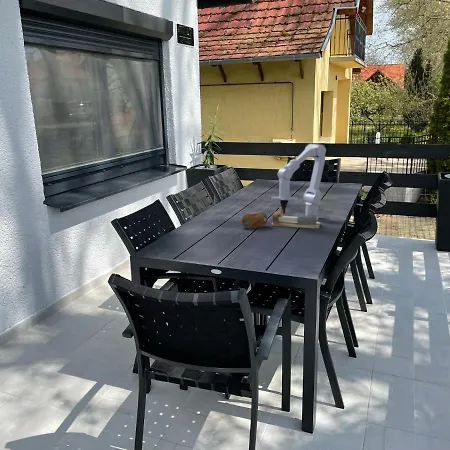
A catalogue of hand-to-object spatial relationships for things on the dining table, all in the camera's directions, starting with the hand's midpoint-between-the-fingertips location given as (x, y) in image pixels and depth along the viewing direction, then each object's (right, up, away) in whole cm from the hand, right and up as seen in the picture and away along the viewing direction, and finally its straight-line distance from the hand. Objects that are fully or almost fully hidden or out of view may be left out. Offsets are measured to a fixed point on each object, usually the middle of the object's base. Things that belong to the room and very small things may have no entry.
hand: (284, 213), depth 264 cm
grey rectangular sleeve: (+13, -7, -1) cm, 14 cm away
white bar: (+3, -5, +1) cm, 6 cm away
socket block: (-4, -6, +3) cm, 8 cm away
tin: (-17, -8, -3) cm, 19 cm away
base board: (+7, -7, 0) cm, 9 cm away
